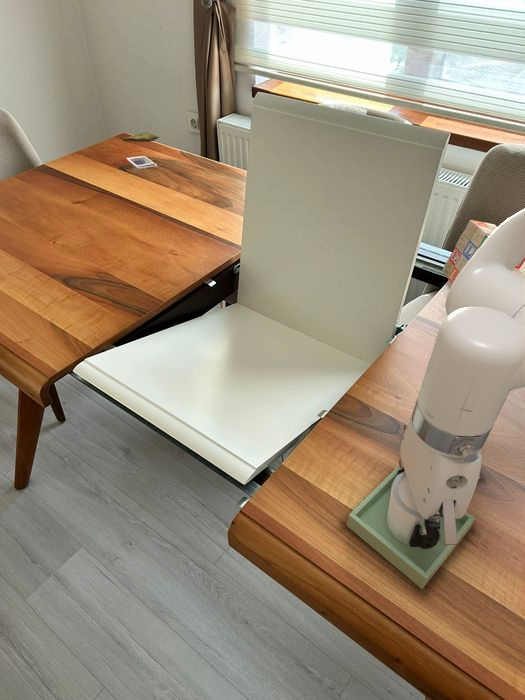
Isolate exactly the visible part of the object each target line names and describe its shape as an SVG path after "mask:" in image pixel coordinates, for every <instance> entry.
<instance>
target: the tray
mask: <svg viewBox="0 0 525 700" xmlns="http://www.w3.org/2000/svg"><path fill="white" fill-rule="evenodd" d="M398 470H402V469H400V467H399V465H397V466H396V467H395V468H394V469H393V471H391V473H389V474H388V475H387V476H386V477H385V478H384V479H383V481H381V482H380V483H379V484H378V485H377V486H376V487H375V488H374V489H373V491H371V492H370V493H369V494H368V495H367V496H366V497H365V498H363V500H362V501H361V502H360V503H359V504H358V505H357V506H355V508H354V509H353V510H352V511H351V512H350V513H349V514H348V517H347V521H346V527H347V528H348V529H350V530H351V531H352V532H354V533H355V534H356V535H357V536H358V537H359V538H361V539H362V541H364V542H365V543H366V544H367V545H369V546H370V547H371V548H372V549H374V550H375V551H376V552H377V553H378V554H379V555H380V556H382V557H383V558H384V559H385V560H387V561H388V562H389V563H390V564H391V565H392V566H394V567H395V569H397V570H399V572H401V573H402V574H403V575H404V576H405V577H407V578H408V579H409V580H410V581H411V582H413V583H414V584H415V585H416V586H418V587H419V589H421V590H423V589H424V588H425V587H426V585H427V584H428V583H429V581H431V579H432V577H433V576H435V574H436V573H437V571H438V570H439V569H440V567H441V566H442V565H443V564H444V563H445V561H446V560H447V559H448V557H450V555H451V554H452V552H453V551H454V550H455V548H456V547H457V546H458V545H459V544H460V542H461V541H462V540H463V538H464V537H465V536H466V534H467V533H468V532H469V531H470V530H471V528H472V525H473V524H474V522H475V521H476V517H475V516H474V515H472V514H471V513H469V512H468V510H466V512H465V514H464V516H463V517H462V518H458V519H455V522H456V535H457V544H456V545H443V544H441V543H439V542H438V543H437V545H435V546H434V547H432V548H430V549H421V548H420V547H410V544H405V543H403V542H401V541H400V540H398V539H396V538H395V537H394V535H393V534H392V533H391V532H390V530H389V528H388V525H387V515H388V508H389V502H390V496H391V490H392V483H393V482H394V480H395V478H396V475H397V472H398Z"/></svg>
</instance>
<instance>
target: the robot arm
mask: <svg viewBox="0 0 525 700" xmlns="http://www.w3.org/2000/svg"><path fill="white" fill-rule="evenodd" d="M524 258H525V208H524V209H522V210H520V211H518V212H516V213H515V214H513V215H512V216H510V217H508V218H507V219H506V220H504V221H503V222H502V223H500V224H499V226H497V228H496V229H495V230H494V231H493V232H492V233H491V234H490V236H489V237H488V238H487V239H486V240H485V242H484V243H483V244H482V245H481V246H480V248H479V249H478V250H477V251H476V253H475V254H474V255H473V256H472V257H471V259H470V260H469V261H468V262H467V264H466V265H465V266H464V268H463V269H462V270H461V272H460V273H459V275H458V276H457V277H456V279H455V281H454V282H453V284H452V283H451V286H450V288H449V290H448V292H447V295H446V298H445V312H446V315H447V316H446V317H445V318H444V319H443V321H442V323H441V324H440V326H439V329H438V331H437V335H436V338H435V341H434V345H433V347H432V351H431V354H430V357H429V360H428V363H427V366H426V370H425V372H424V376H423V380H422V382H421V385H420V389H419V391H418V395H417V398H416V401H415V404H414V407H413V410H412V414H411V416H410V418H409V420H408V423H407V424H405V425H403V436H402V439H401V442H400V449H399V453H400V458H399V460H398V466H399V467H400V469H402V470H398V472H397V475H399V474H400V473H402V472H404V471H405V473H406V476H407V479H408V482H409V485H410V488H411V491H412V494H413V497H414V500H415V503H416V506H417V509H418V511H419V513H420V524H417V525H415V528H414V530H413V533H412V535H411V537H410V540H409V544H410V547H420V548H421V549H430V548H432V547H434V546H435V545H437V543H438V542H439V543H441V544H443V545H456V544H457V535H456V522H455V519H458V518H462V517H463V516H464V514H465V512H466V511H468V509H469V506H470V503H471V501H472V500H473V499H472V498H473V496H474V494H475V491H476V488H477V485H478V481H479V479H478V478H479V476H480V473H481V470H482V465H483V464H482V462H483V454H482V450H483V448H484V446H485V445H486V442H487V439H488V438H489V436H490V433H491V432H492V430H493V428H494V425H495V424H496V421H497V419H498V418H499V415H500V413H501V411H502V409H503V407H504V404H505V403H506V400H507V399H508V396H509V394H510V393H511V392H513V391H515V390H518V389H522V388H525V278H523V277H522V276H520V275H518V274H516V273H514V272H513V271H512V270H513V269H514V268H515V267H516V266H517V265H518V264H519V263H520V262H521V261H522V260H523V259H524ZM397 475H396V476H397ZM429 516H439V523H438V522H429ZM457 545H458V544H457Z"/></svg>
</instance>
